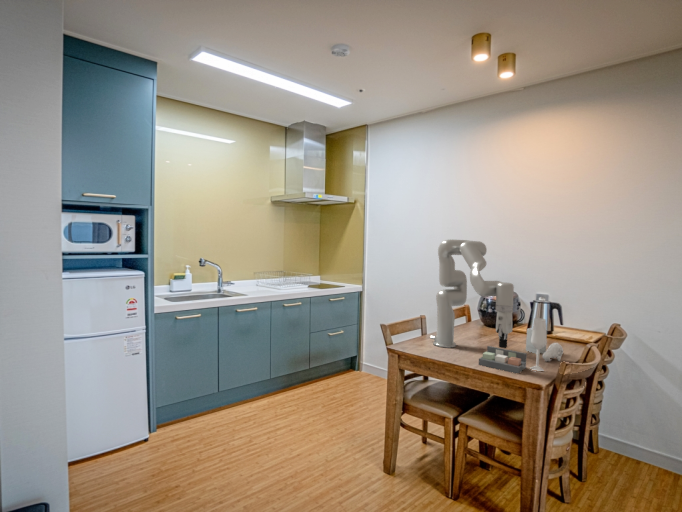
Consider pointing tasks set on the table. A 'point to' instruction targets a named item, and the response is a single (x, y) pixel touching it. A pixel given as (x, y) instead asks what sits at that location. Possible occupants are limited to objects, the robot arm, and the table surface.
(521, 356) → the keypad
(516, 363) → the terracotta key
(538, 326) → the champagne flute
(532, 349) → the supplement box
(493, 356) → the sage key
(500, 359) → the off-white key
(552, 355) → the white animal figurine
